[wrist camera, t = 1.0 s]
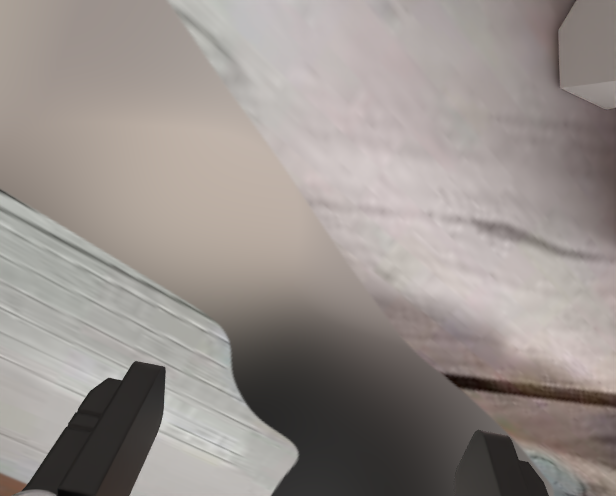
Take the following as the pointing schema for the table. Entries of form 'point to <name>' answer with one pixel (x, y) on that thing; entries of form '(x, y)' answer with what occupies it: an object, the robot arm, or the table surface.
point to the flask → (589, 52)
